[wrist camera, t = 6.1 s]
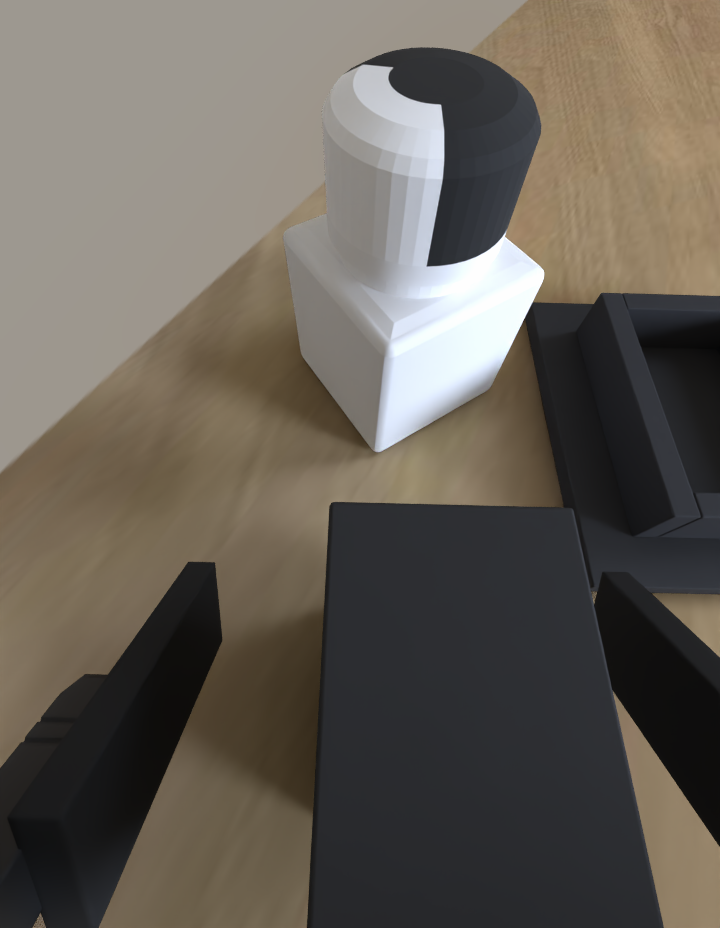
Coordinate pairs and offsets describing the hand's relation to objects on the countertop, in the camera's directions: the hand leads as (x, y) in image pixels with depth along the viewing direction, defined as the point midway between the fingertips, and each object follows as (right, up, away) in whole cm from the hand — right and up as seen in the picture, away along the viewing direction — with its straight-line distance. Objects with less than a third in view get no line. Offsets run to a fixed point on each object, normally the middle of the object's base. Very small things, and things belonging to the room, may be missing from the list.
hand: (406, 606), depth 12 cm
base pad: (+14, +6, +8) cm, 17 cm away
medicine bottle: (0, +9, +9) cm, 13 cm away
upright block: (0, -4, +3) cm, 5 cm away
